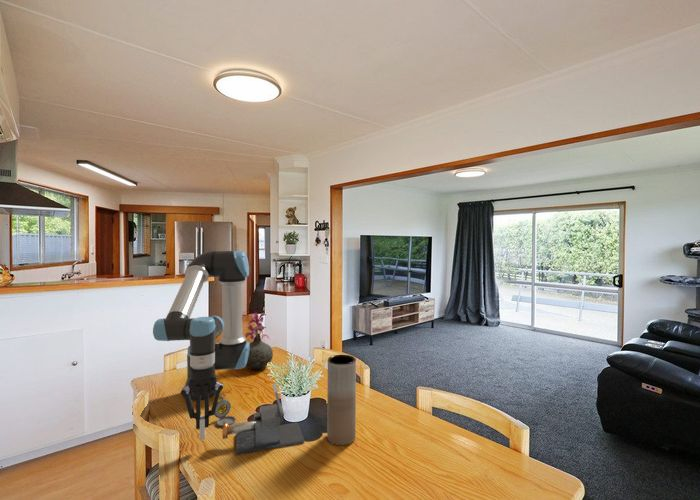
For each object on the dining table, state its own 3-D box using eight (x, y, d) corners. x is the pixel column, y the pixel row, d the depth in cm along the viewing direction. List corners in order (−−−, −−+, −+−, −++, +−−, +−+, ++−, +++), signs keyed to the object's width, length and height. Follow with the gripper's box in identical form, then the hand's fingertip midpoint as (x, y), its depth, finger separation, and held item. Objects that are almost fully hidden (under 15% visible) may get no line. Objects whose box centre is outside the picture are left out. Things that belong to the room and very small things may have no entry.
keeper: (278, 406, 122) (271, 383, 122) (281, 405, 123) (275, 382, 122) (280, 417, 115) (274, 393, 114) (284, 415, 115) (277, 391, 114)
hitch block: (236, 435, 120) (236, 408, 120) (298, 425, 127) (298, 399, 127) (236, 455, 108) (236, 425, 108) (304, 442, 115) (304, 415, 115)
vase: (235, 372, 179) (235, 315, 178) (250, 361, 196) (250, 309, 195) (265, 374, 176) (265, 317, 176) (277, 363, 193) (277, 310, 193)
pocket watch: (229, 428, 124) (229, 401, 124) (208, 426, 126) (208, 399, 126) (240, 417, 132) (240, 392, 132) (221, 415, 134) (221, 390, 134)
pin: (223, 434, 115) (223, 419, 115) (268, 426, 120) (268, 412, 120) (222, 442, 110) (222, 427, 110) (270, 434, 115) (270, 419, 115)
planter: (359, 433, 122) (359, 356, 121) (350, 448, 112) (350, 365, 112) (333, 427, 125) (333, 353, 125) (322, 442, 116) (323, 361, 115)
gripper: (178, 371, 105) (178, 447, 105) (223, 367, 109) (223, 439, 109) (182, 363, 112) (182, 434, 112) (224, 359, 116) (224, 428, 116)
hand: (202, 437), depth 111 cm, fingers closed
